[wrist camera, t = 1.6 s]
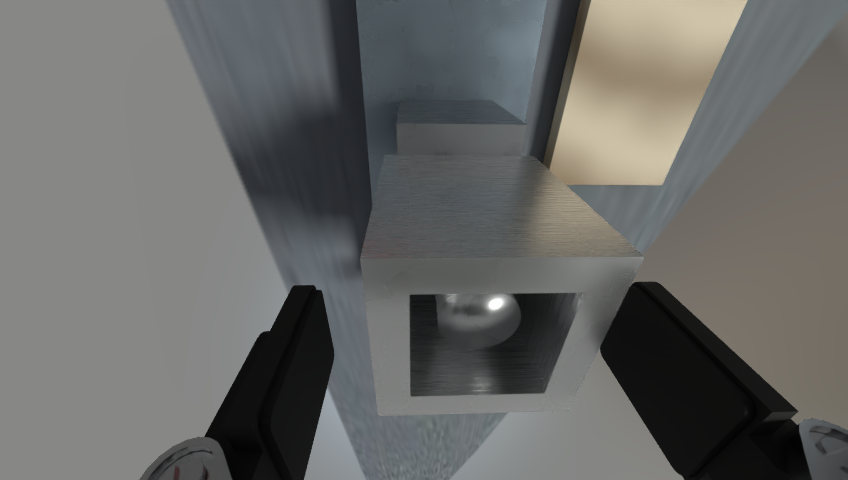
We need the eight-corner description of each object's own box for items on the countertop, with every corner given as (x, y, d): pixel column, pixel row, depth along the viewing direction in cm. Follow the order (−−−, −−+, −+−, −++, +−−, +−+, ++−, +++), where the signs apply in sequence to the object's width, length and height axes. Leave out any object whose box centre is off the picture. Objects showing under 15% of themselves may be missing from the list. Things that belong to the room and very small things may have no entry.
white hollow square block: (384, 154, 12) (359, 258, 6) (533, 155, 12) (644, 256, 7) (390, 273, 15) (378, 415, 10) (509, 272, 16) (568, 410, 10)
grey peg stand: (360, -10, 16) (206, -176, 4) (534, -5, 16) (881, -144, 4) (380, 269, 25) (354, 466, 14) (489, 269, 26) (555, 460, 14)
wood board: (607, -116, 14) (622, -128, 13) (775, -108, 14) (802, -120, 13) (539, 178, 21) (545, 184, 20) (650, 178, 22) (662, 185, 21)
